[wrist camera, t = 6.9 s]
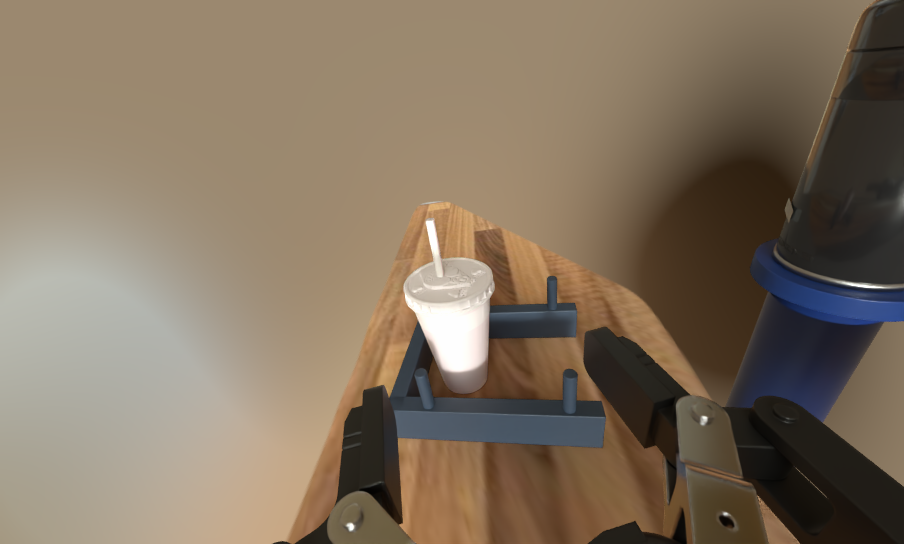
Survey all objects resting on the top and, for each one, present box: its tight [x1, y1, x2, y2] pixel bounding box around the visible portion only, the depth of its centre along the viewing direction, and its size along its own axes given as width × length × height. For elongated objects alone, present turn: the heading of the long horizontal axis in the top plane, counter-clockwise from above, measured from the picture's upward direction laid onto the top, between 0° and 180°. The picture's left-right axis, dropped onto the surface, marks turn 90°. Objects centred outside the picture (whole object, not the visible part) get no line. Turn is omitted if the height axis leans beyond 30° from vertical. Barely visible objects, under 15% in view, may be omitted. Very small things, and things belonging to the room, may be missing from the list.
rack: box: [389, 276, 606, 448], centre depth 26 cm, size 14×12×6 cm
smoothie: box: [404, 218, 495, 394], centre depth 25 cm, size 6×6×14 cm
